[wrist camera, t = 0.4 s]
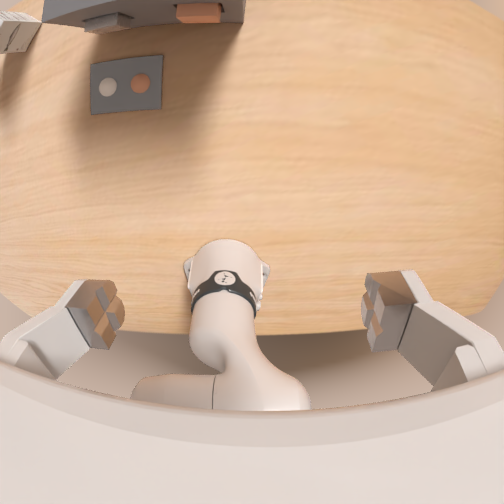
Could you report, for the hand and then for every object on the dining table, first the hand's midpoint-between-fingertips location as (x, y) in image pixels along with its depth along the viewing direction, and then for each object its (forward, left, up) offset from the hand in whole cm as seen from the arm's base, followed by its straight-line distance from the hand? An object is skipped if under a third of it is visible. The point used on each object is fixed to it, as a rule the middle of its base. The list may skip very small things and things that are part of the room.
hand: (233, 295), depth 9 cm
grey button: (+16, +20, -36) cm, 44 cm away
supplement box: (+22, +46, -44) cm, 68 cm away
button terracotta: (+16, +7, -36) cm, 39 cm away
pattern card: (+5, +21, -44) cm, 49 cm away
